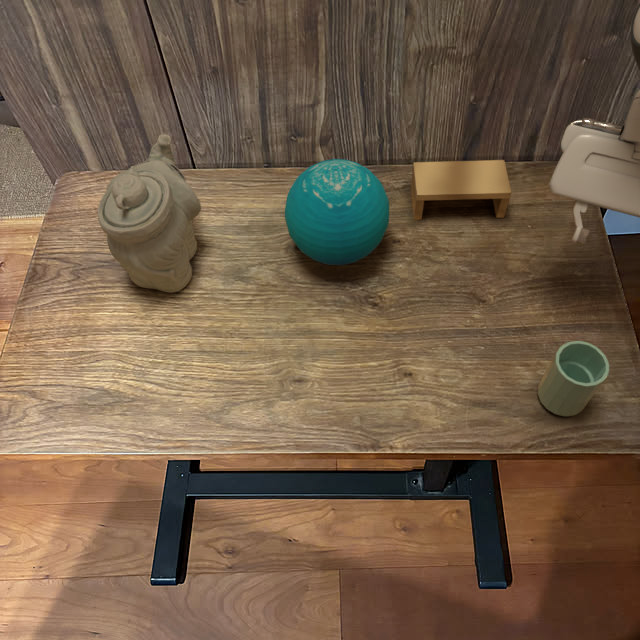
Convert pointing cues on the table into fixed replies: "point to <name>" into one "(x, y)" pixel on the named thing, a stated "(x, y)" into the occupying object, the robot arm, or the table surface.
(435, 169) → the shelf
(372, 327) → the table surface
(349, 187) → the decorative orb
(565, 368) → the sage green tumbler
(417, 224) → the table surface
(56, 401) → the table surface
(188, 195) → the teapot
